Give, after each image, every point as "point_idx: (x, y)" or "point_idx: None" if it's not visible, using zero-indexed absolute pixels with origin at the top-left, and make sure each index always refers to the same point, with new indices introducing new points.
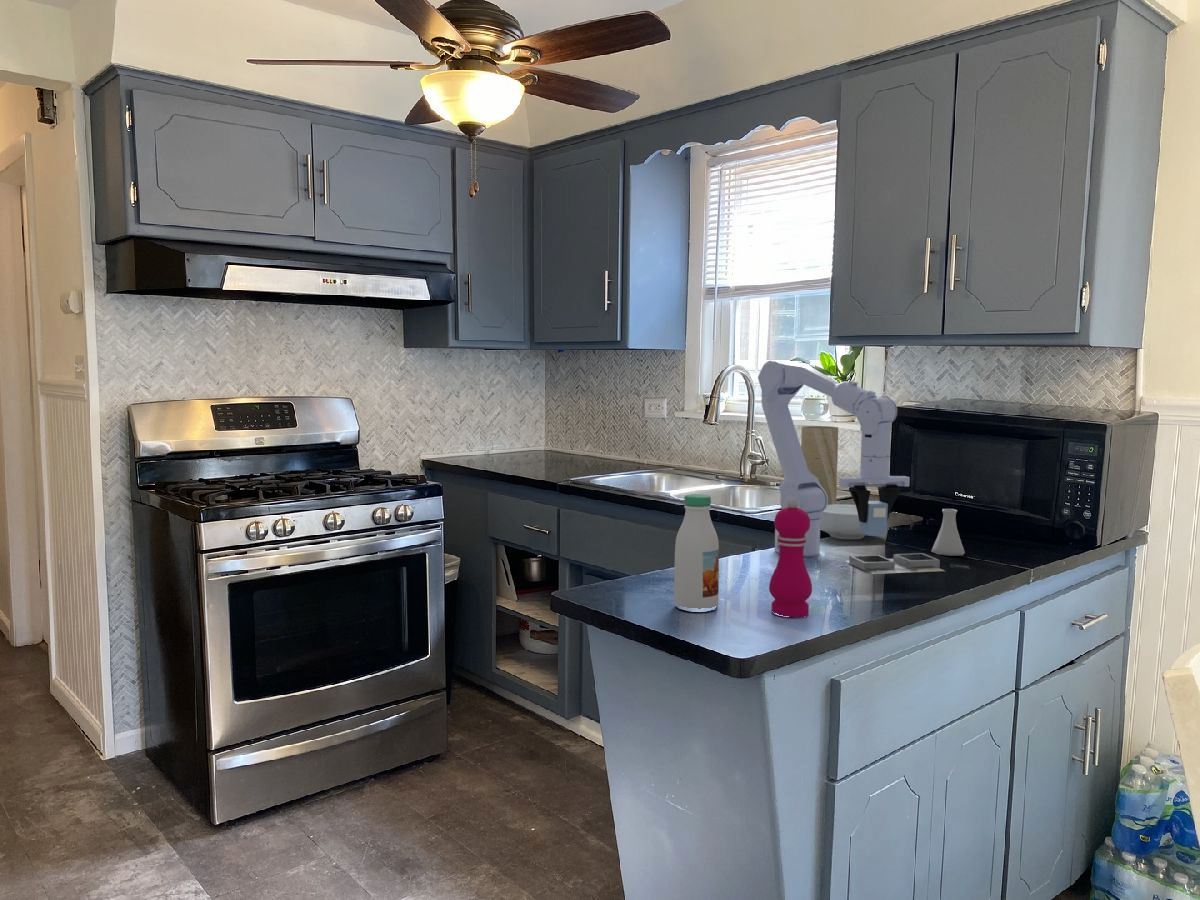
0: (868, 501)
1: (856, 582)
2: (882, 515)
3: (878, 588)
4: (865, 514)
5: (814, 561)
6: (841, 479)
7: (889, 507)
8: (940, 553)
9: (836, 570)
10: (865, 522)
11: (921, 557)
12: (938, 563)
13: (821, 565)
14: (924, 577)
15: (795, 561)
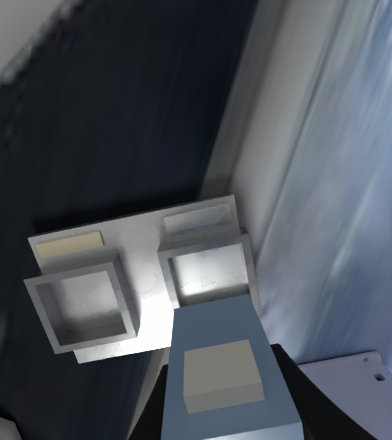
0: None
1: (282, 153)
2: (202, 354)
3: (245, 86)
4: (290, 369)
5: (311, 353)
6: None
7: (146, 430)
8: (5, 422)
9: (290, 273)
10: (270, 345)
11: (64, 338)
12: (32, 274)
13: (308, 318)
14: (91, 214)
15: None
